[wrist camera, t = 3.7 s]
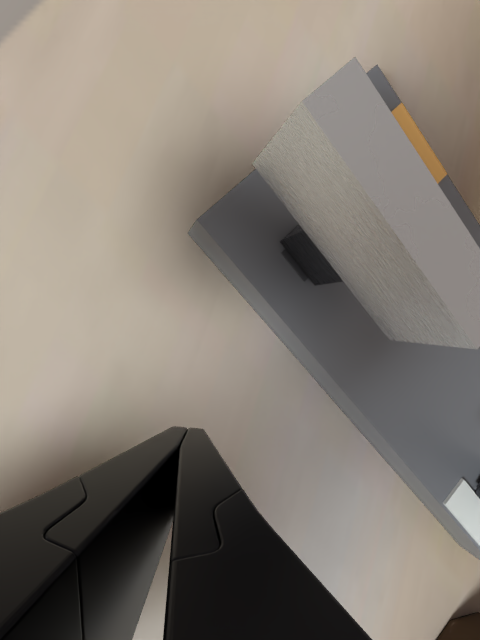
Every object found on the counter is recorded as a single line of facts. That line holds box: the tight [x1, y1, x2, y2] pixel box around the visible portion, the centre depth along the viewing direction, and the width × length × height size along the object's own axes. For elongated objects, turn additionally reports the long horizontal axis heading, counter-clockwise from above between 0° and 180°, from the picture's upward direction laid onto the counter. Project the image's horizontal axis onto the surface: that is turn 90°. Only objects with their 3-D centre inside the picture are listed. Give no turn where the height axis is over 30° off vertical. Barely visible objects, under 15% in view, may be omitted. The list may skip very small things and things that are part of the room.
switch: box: [252, 57, 480, 349], centre depth 15 cm, size 2×10×7 cm, turn 43°
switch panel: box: [188, 65, 480, 560], centre depth 23 cm, size 14×30×3 cm, turn 43°
